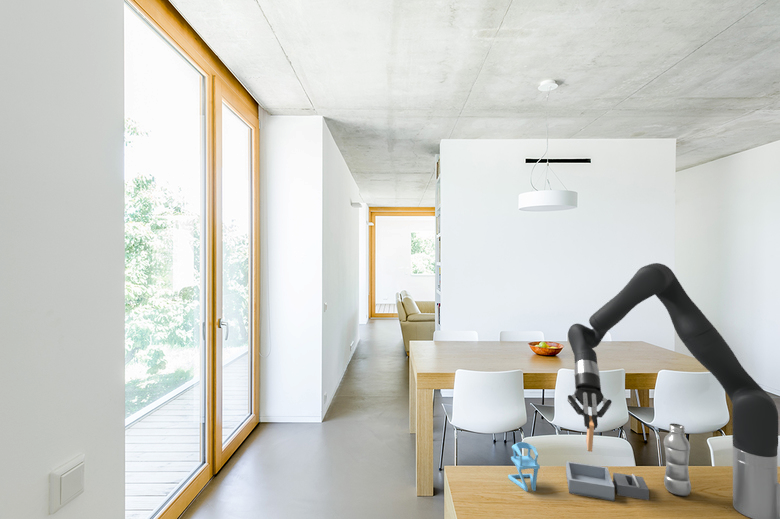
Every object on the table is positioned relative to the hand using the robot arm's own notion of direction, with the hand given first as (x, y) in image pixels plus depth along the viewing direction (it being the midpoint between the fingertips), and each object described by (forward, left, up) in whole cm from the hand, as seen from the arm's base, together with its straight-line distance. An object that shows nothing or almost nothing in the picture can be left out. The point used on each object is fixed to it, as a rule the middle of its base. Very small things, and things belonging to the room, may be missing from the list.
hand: (591, 428), depth 124 cm
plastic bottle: (-24, -6, -18) cm, 31 cm away
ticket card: (0, -4, -7) cm, 9 cm away
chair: (+19, +4, -18) cm, 27 cm away
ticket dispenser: (-11, -2, -18) cm, 21 cm away
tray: (+1, -1, -18) cm, 18 cm away
